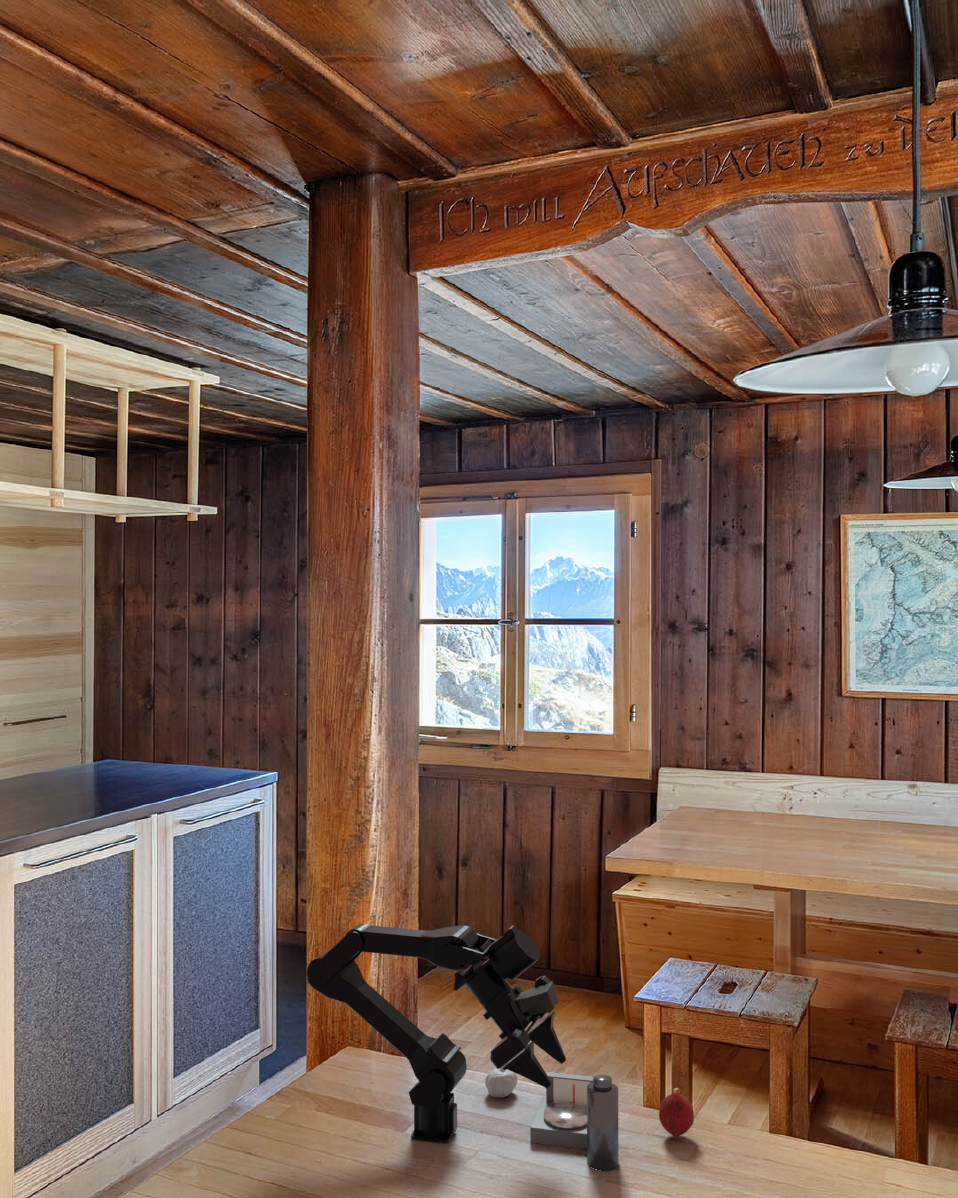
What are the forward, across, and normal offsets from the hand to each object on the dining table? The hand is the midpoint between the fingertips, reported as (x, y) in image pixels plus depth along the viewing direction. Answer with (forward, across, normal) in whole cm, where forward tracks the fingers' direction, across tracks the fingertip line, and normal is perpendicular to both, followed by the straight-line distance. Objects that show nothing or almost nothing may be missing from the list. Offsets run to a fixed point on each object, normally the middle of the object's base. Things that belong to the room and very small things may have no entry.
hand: (556, 1074), depth 172 cm
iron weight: (+15, 0, +3) cm, 15 cm away
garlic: (0, +17, +20) cm, 26 cm away
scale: (+10, +8, +9) cm, 15 cm away
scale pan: (+8, +7, +7) cm, 13 cm away
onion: (+22, +12, -4) cm, 25 cm away
